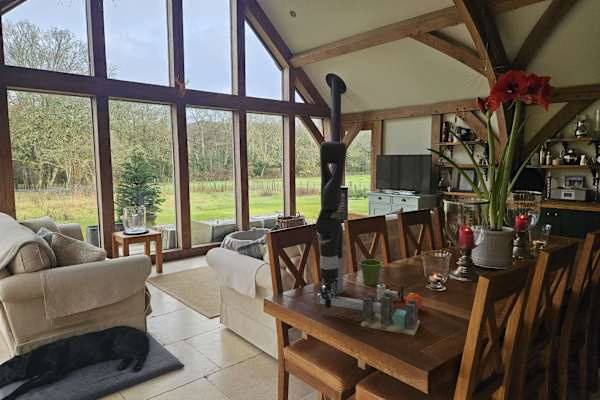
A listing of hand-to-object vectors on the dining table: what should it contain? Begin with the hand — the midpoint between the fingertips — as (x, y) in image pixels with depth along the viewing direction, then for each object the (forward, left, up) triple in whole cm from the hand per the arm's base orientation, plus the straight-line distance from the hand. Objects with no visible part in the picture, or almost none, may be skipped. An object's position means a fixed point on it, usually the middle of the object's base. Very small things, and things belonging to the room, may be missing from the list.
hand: (329, 306), depth 162 cm
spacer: (+27, 0, 0) cm, 27 cm away
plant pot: (+4, +45, -4) cm, 45 cm away
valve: (+19, +26, -4) cm, 33 cm away
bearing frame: (+25, 0, -3) cm, 26 cm away
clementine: (+30, +19, -4) cm, 36 cm away
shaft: (+10, 0, 0) cm, 10 cm away
